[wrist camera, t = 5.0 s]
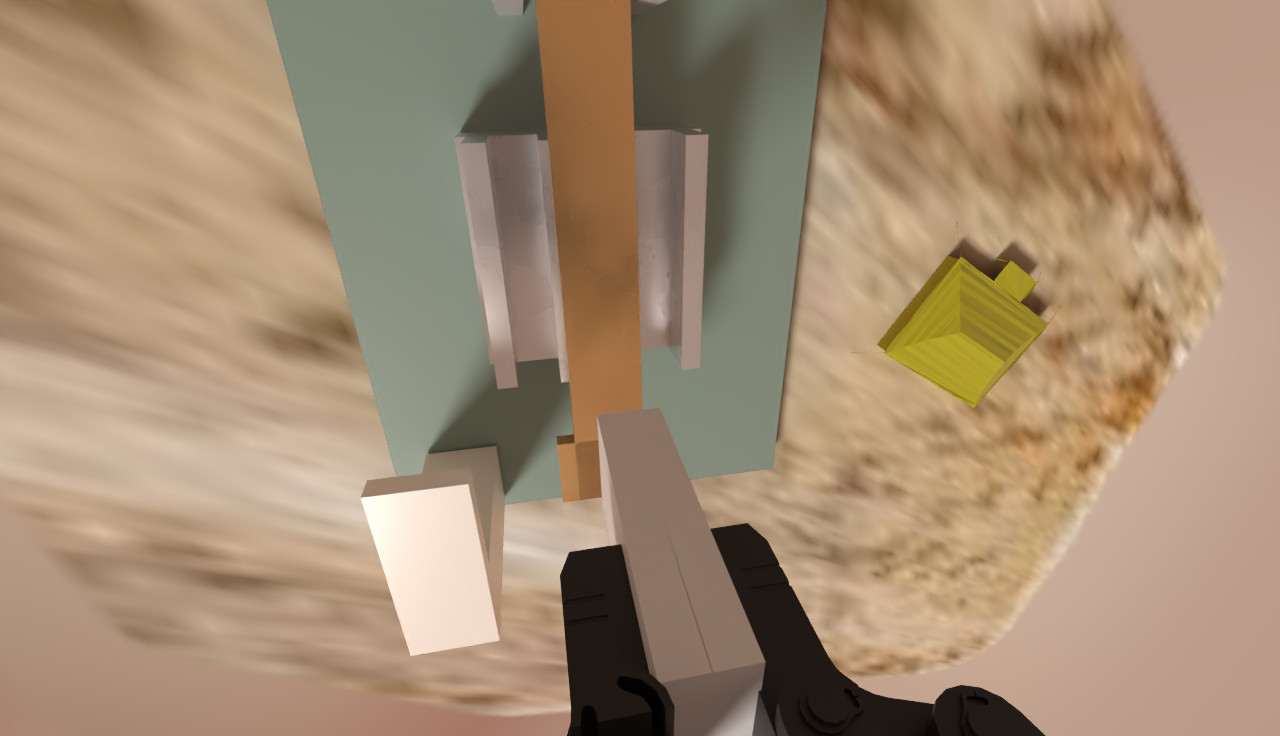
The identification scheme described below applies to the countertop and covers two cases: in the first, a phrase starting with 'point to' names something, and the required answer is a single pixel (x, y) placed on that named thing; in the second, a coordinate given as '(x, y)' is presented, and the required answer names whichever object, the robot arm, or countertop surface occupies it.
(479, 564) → the cream l-shaped bracket
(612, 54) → the strap
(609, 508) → the robot arm
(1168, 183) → the countertop surface
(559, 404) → the board
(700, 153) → the heatsink
